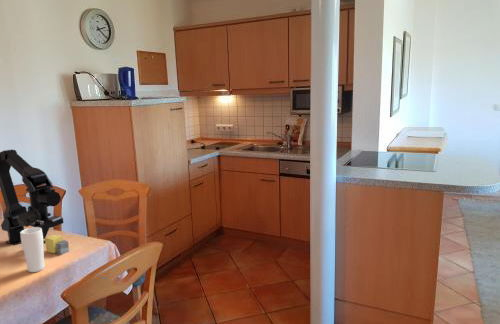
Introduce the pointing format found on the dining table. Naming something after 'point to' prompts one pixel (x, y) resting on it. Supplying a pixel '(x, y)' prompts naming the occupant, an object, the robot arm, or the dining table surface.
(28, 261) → the drinking glass
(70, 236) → the dining table surface
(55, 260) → the dining table surface
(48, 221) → the robot arm
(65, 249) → the cord fixture
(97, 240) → the dining table surface
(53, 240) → the sleeve
